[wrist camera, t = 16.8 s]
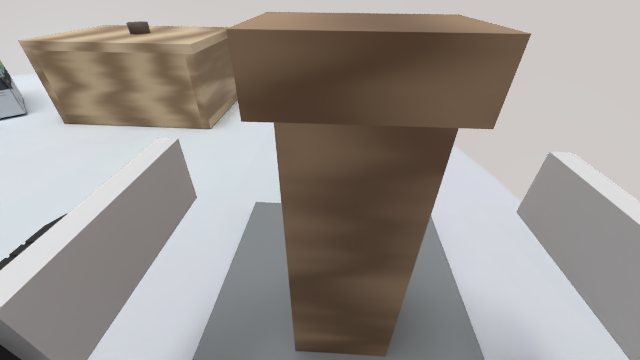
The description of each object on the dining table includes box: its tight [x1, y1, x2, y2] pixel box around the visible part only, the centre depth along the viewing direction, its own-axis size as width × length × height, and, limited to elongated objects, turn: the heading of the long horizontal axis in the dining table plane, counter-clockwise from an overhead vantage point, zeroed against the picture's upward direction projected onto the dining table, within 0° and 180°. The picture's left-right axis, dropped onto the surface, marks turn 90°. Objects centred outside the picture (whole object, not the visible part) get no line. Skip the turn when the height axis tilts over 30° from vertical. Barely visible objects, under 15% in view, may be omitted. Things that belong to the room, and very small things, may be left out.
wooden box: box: [19, 22, 238, 129], centre depth 39 cm, size 20×14×11 cm
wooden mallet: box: [226, 12, 531, 357], centre depth 11 cm, size 6×4×14 cm, turn 87°
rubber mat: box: [193, 202, 484, 360], centre depth 15 cm, size 14×18×1 cm
